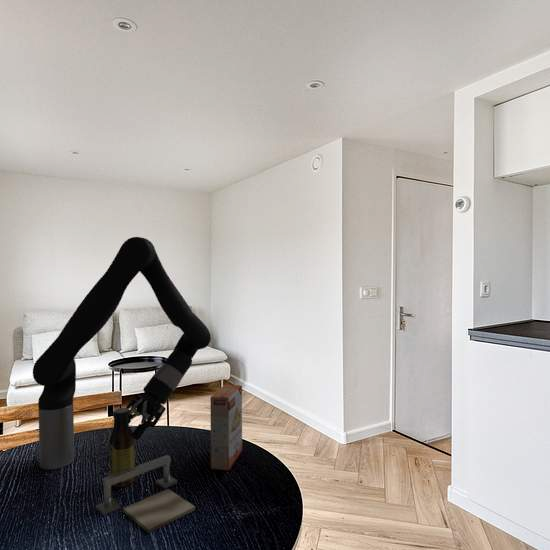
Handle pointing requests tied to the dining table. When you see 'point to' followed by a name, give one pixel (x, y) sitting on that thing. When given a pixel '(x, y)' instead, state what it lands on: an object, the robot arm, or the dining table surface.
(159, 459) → the grey bar handle
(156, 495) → the birch pad
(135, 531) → the dining table surface
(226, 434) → the cracker box
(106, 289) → the robot arm
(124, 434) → the sauce bottle
